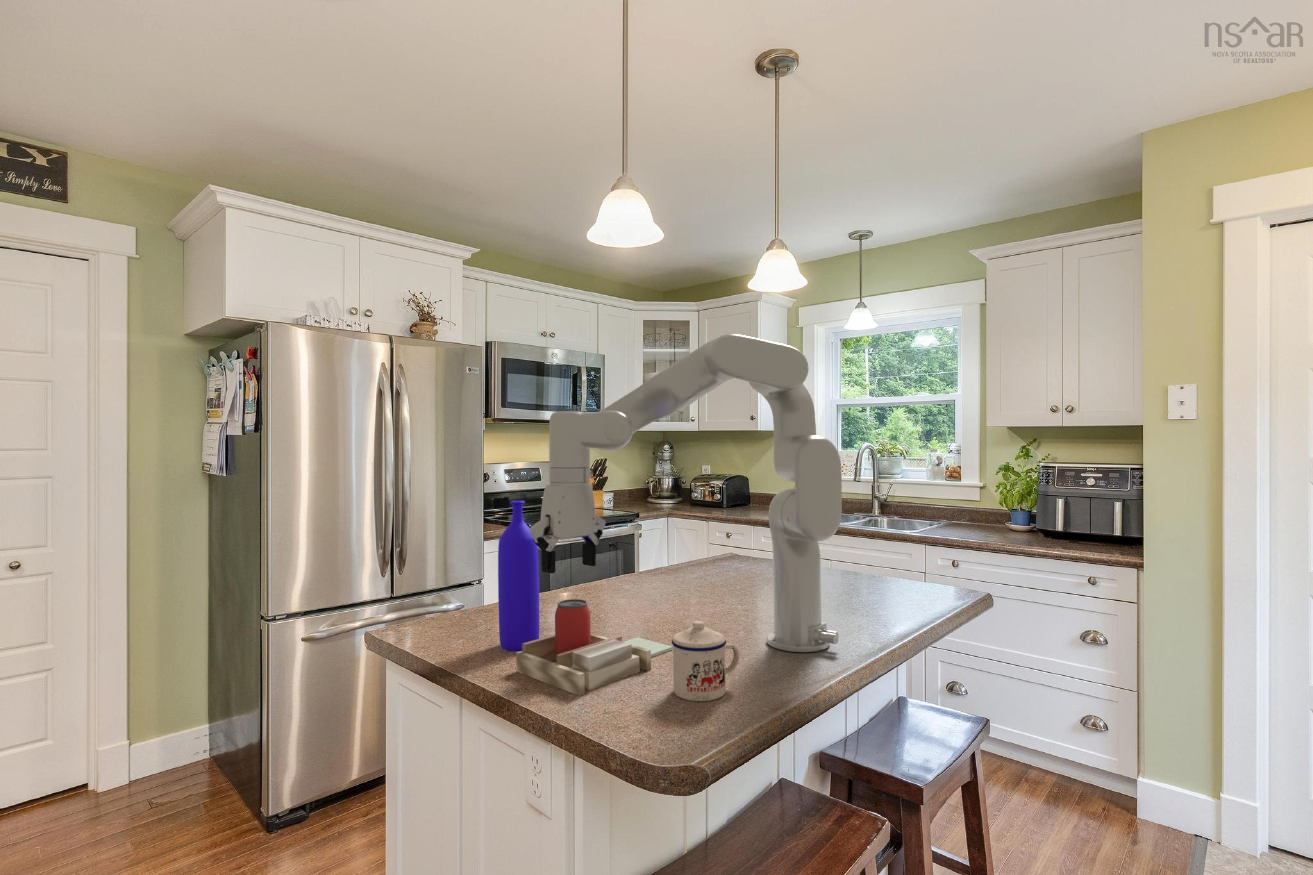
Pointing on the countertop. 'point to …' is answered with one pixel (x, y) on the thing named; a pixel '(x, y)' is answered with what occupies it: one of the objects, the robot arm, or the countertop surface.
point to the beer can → (571, 626)
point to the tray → (563, 662)
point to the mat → (650, 646)
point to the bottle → (518, 584)
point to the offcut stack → (605, 662)
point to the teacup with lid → (701, 663)
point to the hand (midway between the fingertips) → (569, 568)
